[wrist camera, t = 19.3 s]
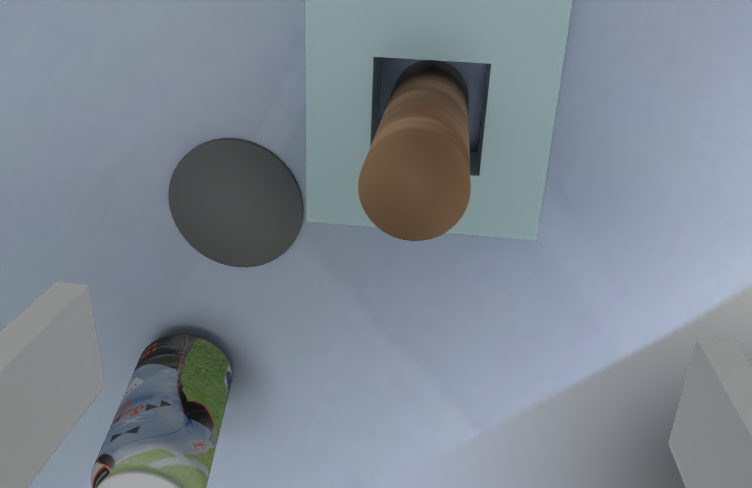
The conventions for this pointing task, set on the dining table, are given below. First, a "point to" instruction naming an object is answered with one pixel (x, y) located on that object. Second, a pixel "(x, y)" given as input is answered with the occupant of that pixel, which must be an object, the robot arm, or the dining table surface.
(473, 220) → the socket
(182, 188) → the pad
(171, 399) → the beverage can
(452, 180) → the peg
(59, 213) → the dining table surface
